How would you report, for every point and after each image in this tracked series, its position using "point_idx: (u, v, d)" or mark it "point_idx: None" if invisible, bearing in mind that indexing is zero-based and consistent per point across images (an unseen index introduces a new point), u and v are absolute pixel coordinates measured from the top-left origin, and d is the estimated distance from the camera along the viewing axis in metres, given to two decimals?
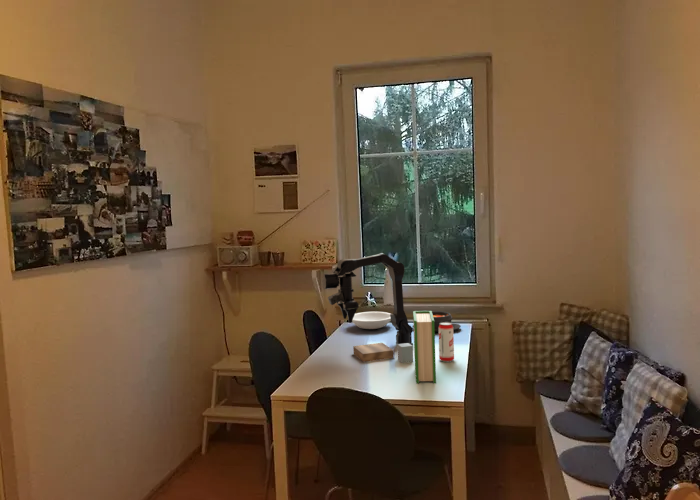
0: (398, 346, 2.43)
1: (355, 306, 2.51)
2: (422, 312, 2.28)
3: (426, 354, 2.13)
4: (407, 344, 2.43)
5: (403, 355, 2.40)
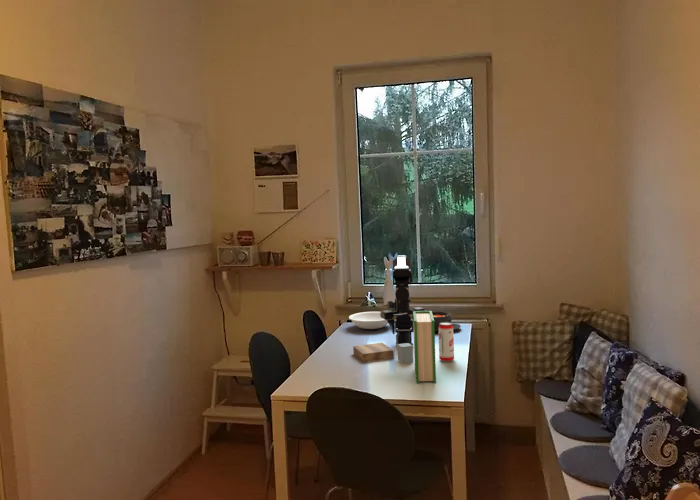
0: (398, 346, 2.43)
1: (383, 317, 2.37)
2: (422, 312, 2.28)
3: (426, 354, 2.13)
4: (407, 344, 2.43)
5: (403, 355, 2.40)
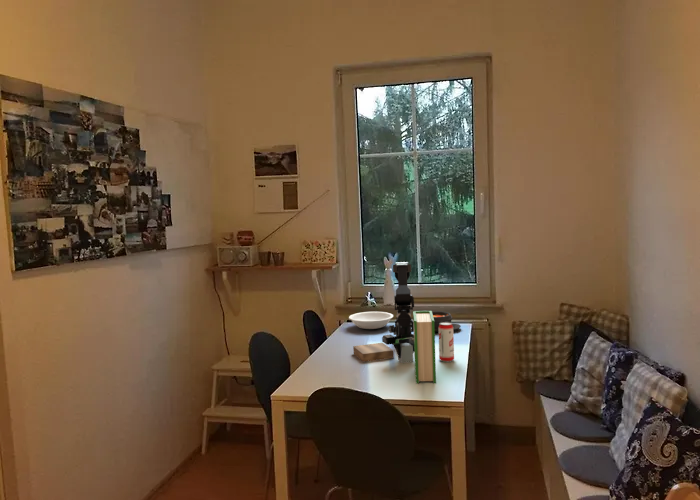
0: None
1: (385, 342, 2.38)
2: (422, 312, 2.28)
3: (426, 354, 2.13)
4: (407, 344, 2.43)
5: (403, 355, 2.40)
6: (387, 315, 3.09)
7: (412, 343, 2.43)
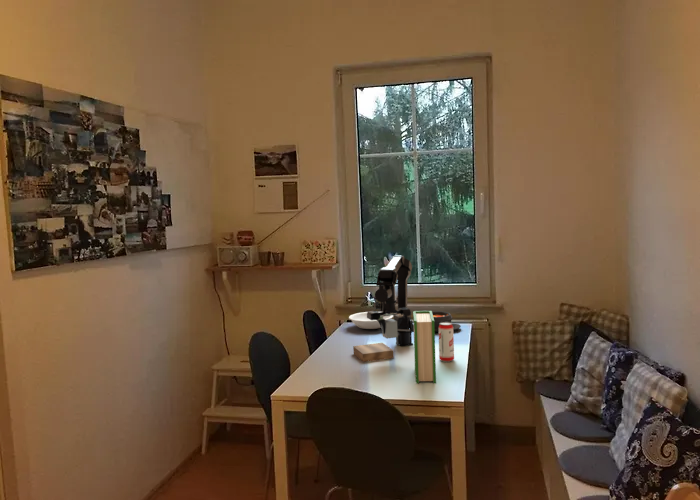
0: None
1: (370, 317, 2.41)
2: (422, 312, 2.28)
3: (426, 354, 2.13)
4: (391, 320, 2.46)
5: (388, 330, 2.43)
6: None
7: (396, 319, 2.46)
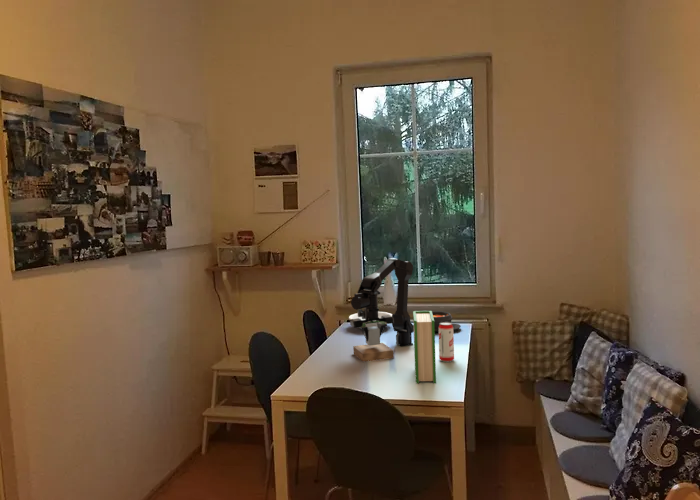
0: None
1: (353, 325, 2.47)
2: (422, 312, 2.28)
3: (426, 354, 2.13)
4: (374, 327, 2.52)
5: (370, 338, 2.49)
6: None
7: (379, 326, 2.51)
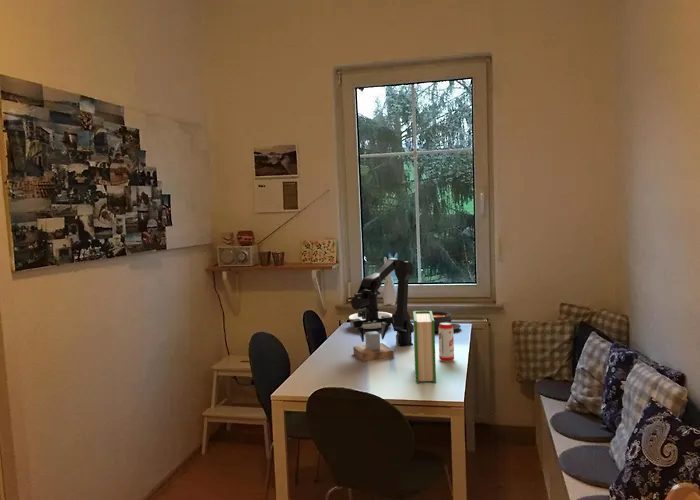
0: (366, 334, 2.52)
1: (353, 325, 2.47)
2: (422, 312, 2.28)
3: (426, 354, 2.13)
4: (374, 332, 2.52)
5: (370, 343, 2.49)
6: None
7: (383, 326, 2.52)
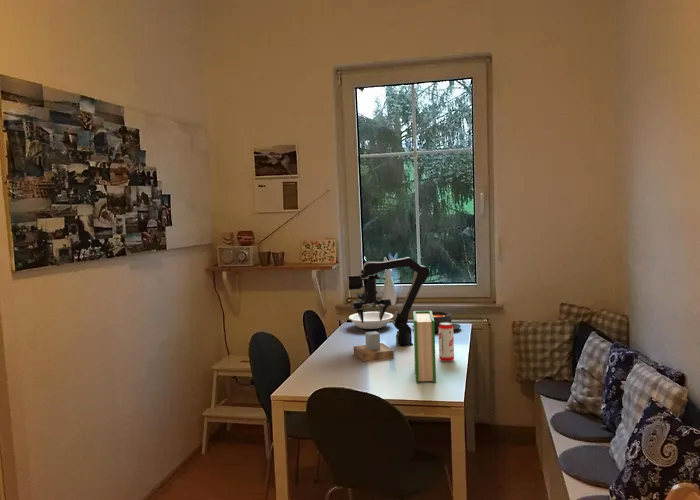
0: (366, 334, 2.52)
1: (353, 307, 2.62)
2: (422, 312, 2.28)
3: (426, 354, 2.13)
4: (374, 332, 2.52)
5: (370, 343, 2.49)
6: (387, 315, 3.09)
7: (381, 308, 2.68)
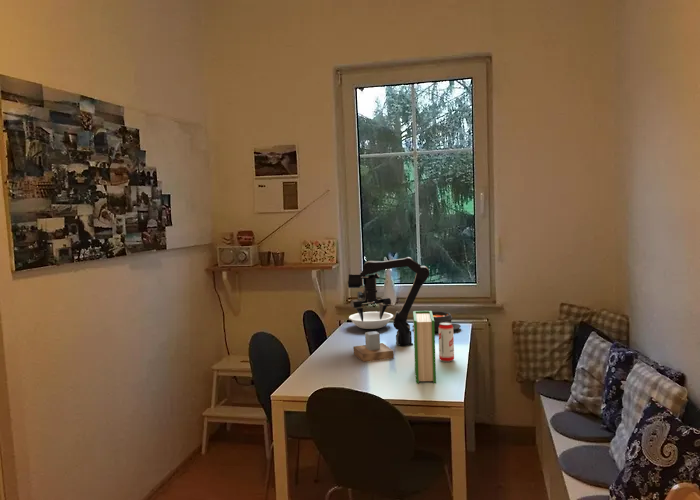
0: (366, 334, 2.52)
1: (353, 305, 2.66)
2: (422, 312, 2.28)
3: (426, 354, 2.13)
4: (374, 332, 2.52)
5: (370, 343, 2.49)
6: (387, 315, 3.09)
7: (381, 307, 2.70)
